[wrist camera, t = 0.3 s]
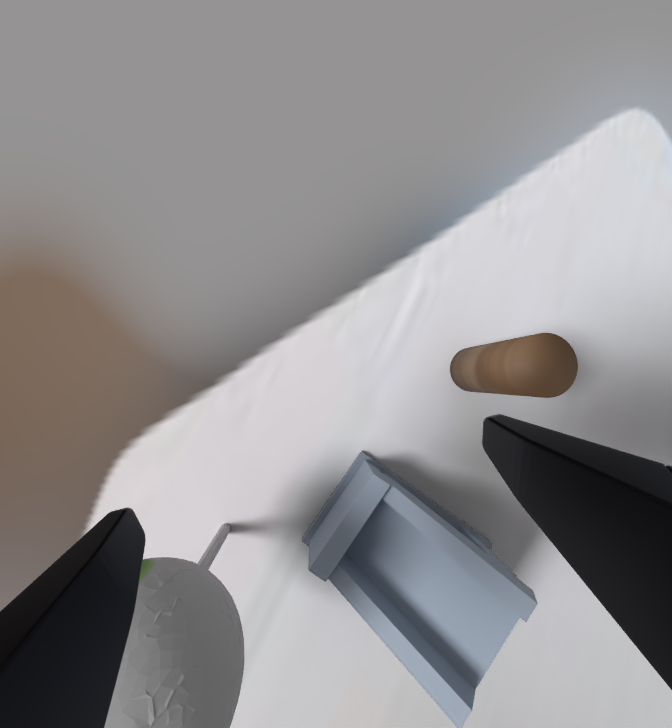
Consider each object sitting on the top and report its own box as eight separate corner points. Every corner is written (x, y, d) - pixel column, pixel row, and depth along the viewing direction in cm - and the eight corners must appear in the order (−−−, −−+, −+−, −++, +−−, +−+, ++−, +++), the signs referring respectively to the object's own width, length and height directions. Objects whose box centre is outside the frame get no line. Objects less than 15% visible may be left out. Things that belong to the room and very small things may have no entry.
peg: (500, 364, 25) (589, 357, 17) (477, 400, 25) (555, 410, 17) (465, 339, 25) (537, 320, 17) (441, 374, 24) (503, 372, 16)
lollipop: (253, 459, 23) (143, 602, 8) (294, 553, 23) (258, 870, 8) (155, 503, 23) (-150, 742, 8) (197, 600, 23) (-31, 1030, 8)
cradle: (488, 540, 24) (581, 626, 16) (433, 628, 24) (498, 764, 15) (361, 451, 24) (386, 490, 15) (302, 537, 23) (295, 626, 15)
